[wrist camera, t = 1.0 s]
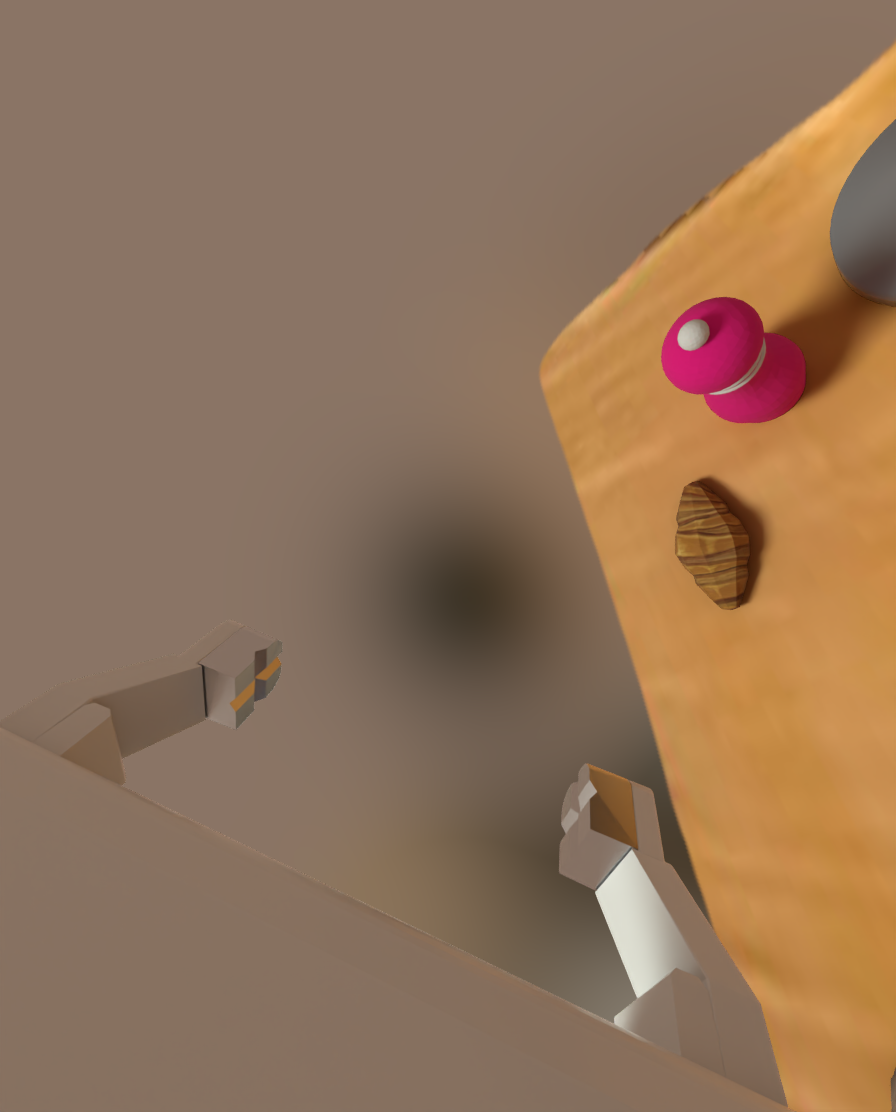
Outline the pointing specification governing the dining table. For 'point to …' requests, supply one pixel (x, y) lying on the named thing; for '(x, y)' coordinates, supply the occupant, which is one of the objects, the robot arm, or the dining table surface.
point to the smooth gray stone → (869, 223)
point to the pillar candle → (893, 1092)
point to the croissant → (712, 545)
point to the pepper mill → (733, 361)
